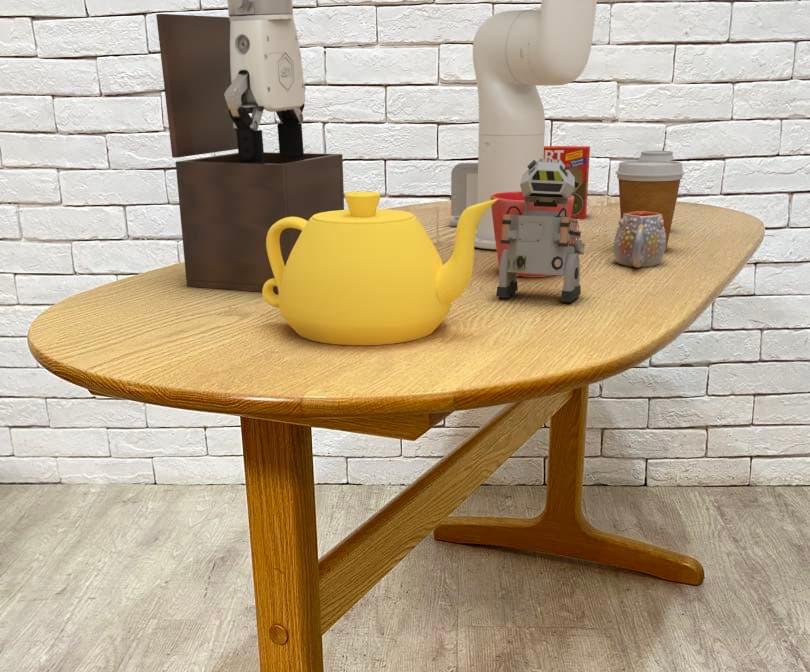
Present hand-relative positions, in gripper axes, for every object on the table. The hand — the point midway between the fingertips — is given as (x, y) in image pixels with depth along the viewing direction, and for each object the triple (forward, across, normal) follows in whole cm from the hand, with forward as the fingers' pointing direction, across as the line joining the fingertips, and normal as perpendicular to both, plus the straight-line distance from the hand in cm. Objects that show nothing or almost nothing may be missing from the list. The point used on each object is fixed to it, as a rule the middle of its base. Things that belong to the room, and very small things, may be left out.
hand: (272, 161), depth 135 cm
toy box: (+16, +68, -13) cm, 71 cm away
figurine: (+15, +1, -34) cm, 38 cm away
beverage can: (+16, +57, -36) cm, 69 cm away
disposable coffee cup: (+16, +38, -39) cm, 57 cm away
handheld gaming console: (+16, +57, -9) cm, 60 cm away
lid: (-9, 0, +8) cm, 12 cm away
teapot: (+14, -22, -24) cm, 35 cm away
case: (+14, -1, +2) cm, 14 cm away
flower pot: (+15, +15, -28) cm, 36 cm away
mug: (+16, +24, -40) cm, 50 cm away
